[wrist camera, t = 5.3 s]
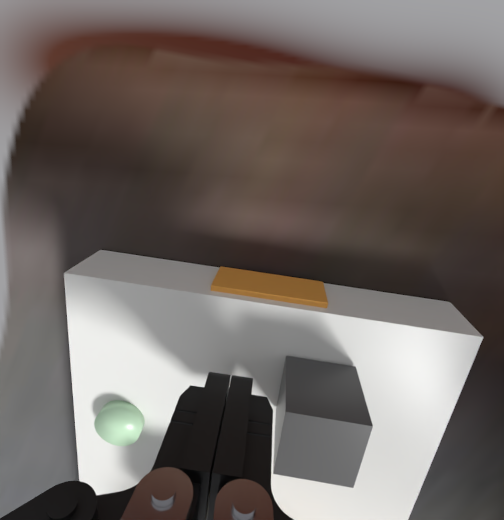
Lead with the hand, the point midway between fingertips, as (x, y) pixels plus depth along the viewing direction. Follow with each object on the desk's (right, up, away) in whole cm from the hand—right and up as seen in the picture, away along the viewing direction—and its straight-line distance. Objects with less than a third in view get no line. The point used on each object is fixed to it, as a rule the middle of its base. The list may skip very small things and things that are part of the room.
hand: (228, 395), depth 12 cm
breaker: (+3, 0, +1) cm, 3 cm away
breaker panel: (0, -5, +6) cm, 7 cm away
